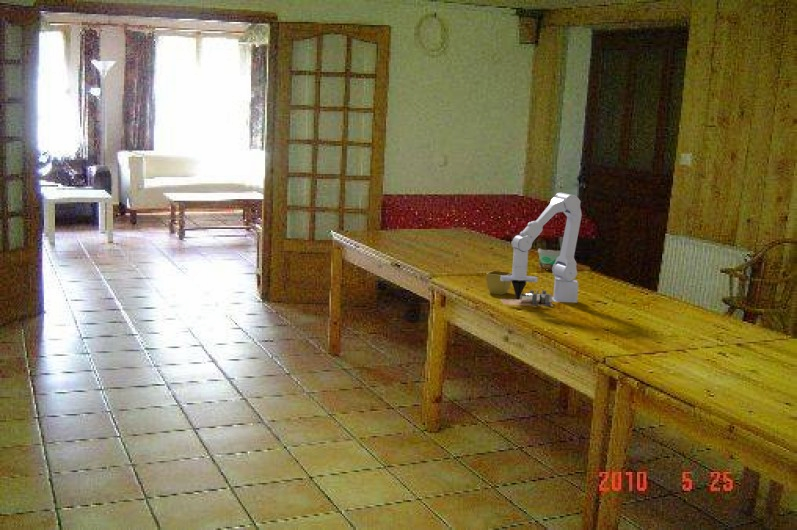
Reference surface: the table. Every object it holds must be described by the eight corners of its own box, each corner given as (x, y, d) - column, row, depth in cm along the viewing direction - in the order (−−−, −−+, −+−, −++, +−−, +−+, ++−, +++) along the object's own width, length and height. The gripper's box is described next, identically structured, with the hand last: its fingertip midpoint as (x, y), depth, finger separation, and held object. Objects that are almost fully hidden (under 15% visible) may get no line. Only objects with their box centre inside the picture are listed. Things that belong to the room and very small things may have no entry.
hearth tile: (548, 301, 335) (548, 300, 335) (553, 307, 325) (553, 306, 325) (499, 299, 335) (499, 298, 335) (503, 305, 325) (503, 304, 325)
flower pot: (484, 294, 344) (485, 273, 342) (492, 290, 351) (493, 269, 350) (504, 297, 340) (505, 275, 338) (511, 293, 347) (513, 272, 346)
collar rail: (545, 300, 335) (546, 289, 334) (550, 306, 325) (551, 295, 324) (527, 299, 335) (528, 289, 334) (531, 305, 325) (532, 294, 324)
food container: (534, 269, 402) (536, 249, 400) (536, 267, 408) (538, 247, 406) (560, 272, 399) (562, 251, 397) (561, 270, 405) (563, 249, 403)
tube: (549, 300, 332) (550, 292, 330) (551, 305, 329) (552, 297, 327) (519, 299, 331) (520, 291, 330) (521, 304, 328) (522, 296, 326)
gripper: (503, 266, 323) (500, 300, 325) (539, 268, 323) (537, 302, 326) (500, 263, 330) (498, 296, 332) (536, 264, 330) (534, 297, 333)
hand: (517, 299), depth 330 cm, fingers closed
